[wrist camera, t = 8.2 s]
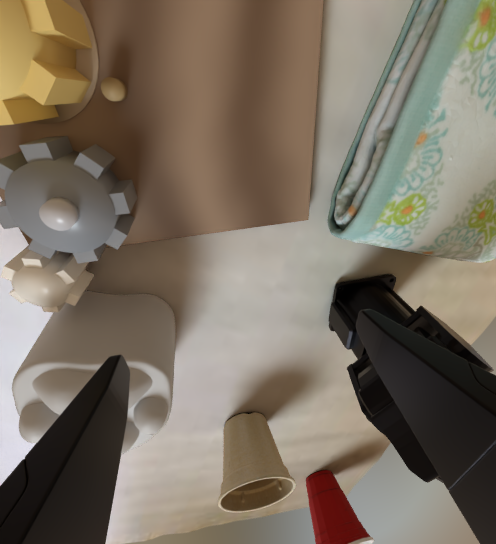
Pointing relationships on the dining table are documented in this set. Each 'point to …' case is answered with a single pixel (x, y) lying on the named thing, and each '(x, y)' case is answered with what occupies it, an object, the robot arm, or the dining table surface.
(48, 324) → the grey paw block
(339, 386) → the dining table surface
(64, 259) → the small gear
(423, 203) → the towel
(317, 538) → the plastic cup
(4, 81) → the loose gear
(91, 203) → the gear
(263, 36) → the board
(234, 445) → the flower pot
